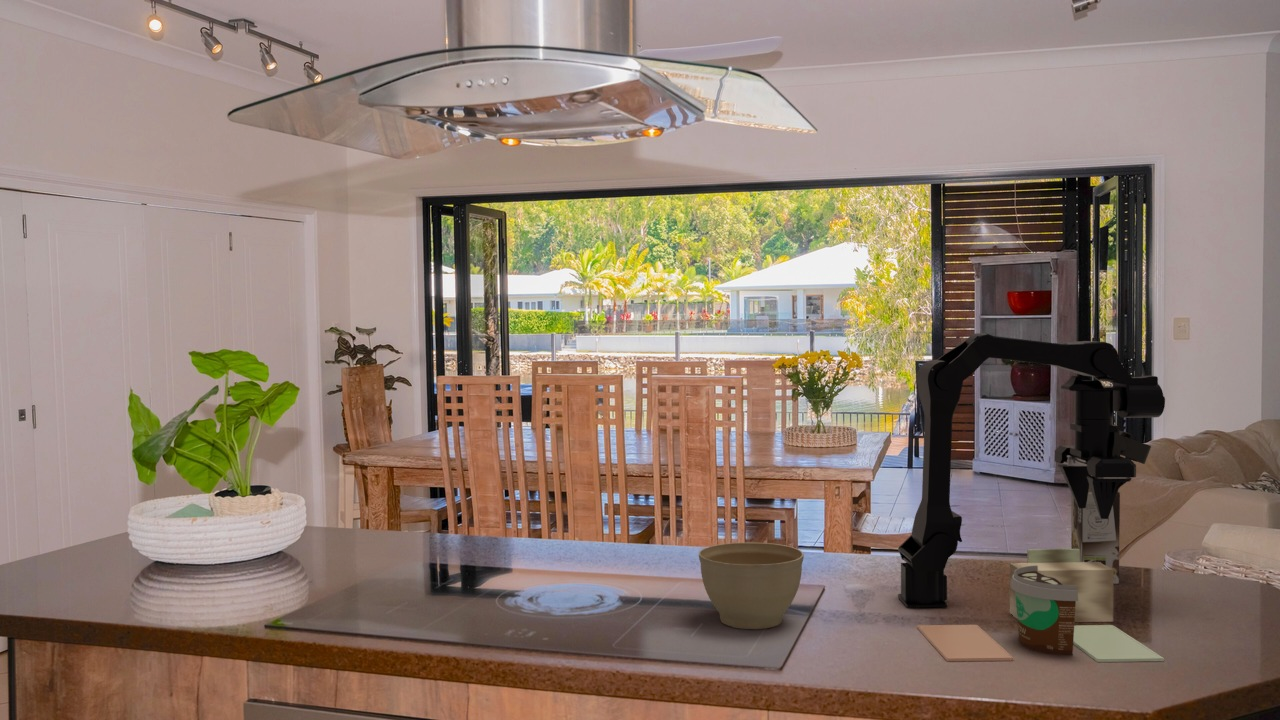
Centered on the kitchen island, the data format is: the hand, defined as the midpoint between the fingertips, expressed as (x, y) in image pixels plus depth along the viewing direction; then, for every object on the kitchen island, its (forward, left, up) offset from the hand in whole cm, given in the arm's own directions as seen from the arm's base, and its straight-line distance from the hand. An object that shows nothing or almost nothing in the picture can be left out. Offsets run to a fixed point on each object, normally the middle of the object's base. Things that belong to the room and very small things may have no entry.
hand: (1092, 513), depth 166 cm
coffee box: (+7, +15, -15) cm, 22 cm away
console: (-9, -9, -14) cm, 19 cm away
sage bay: (-8, -22, -14) cm, 27 cm away
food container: (-18, -22, -15) cm, 32 cm away
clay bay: (-28, -21, -14) cm, 38 cm away
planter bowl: (-57, -9, -15) cm, 59 cm away
